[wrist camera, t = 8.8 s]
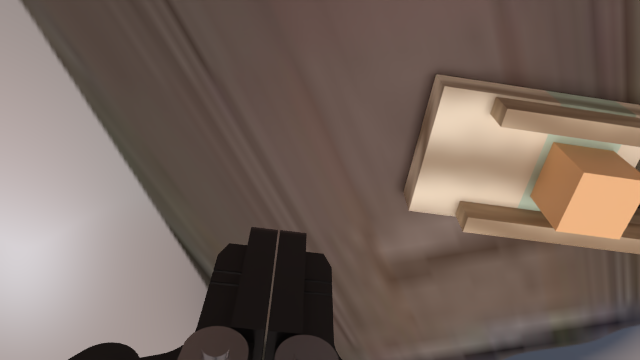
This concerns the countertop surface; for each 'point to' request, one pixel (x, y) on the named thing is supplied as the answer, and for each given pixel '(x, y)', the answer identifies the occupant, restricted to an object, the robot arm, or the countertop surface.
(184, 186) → the countertop surface
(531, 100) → the cream tray
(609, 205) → the block
